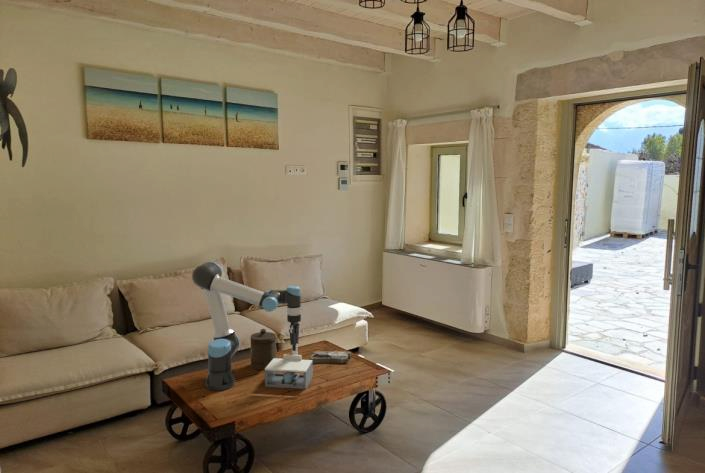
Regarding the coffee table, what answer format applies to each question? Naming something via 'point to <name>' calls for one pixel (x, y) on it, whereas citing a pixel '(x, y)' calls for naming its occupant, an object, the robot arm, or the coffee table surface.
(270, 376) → the housing
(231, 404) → the coffee table surface
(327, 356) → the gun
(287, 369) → the lid
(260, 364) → the wooden container
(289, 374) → the peg
